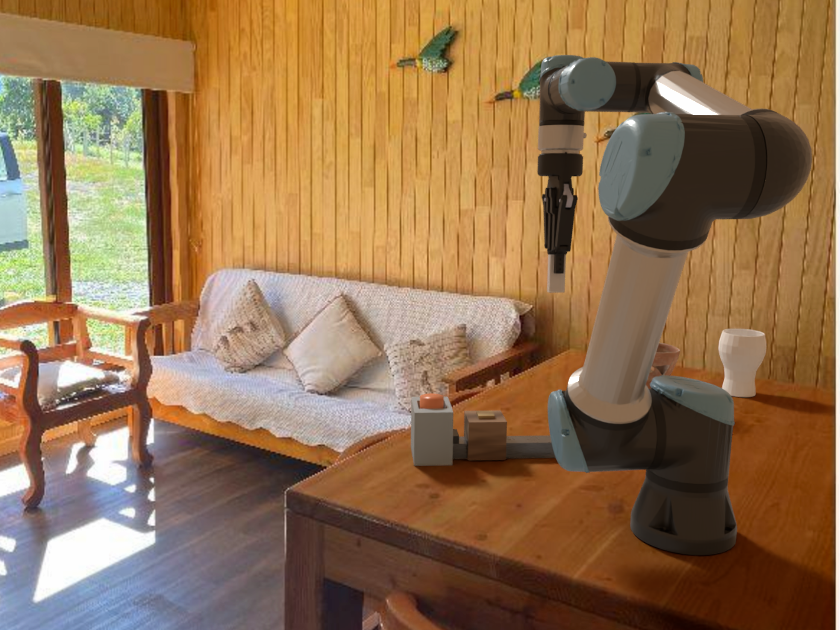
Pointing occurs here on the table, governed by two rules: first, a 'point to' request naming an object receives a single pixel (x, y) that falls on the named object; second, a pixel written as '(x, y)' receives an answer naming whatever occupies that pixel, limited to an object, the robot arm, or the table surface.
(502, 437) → the block
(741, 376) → the cup
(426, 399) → the button
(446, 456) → the grey button housing
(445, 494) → the table surface
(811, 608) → the table surface
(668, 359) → the ceramic jug
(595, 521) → the table surface
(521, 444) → the rail
